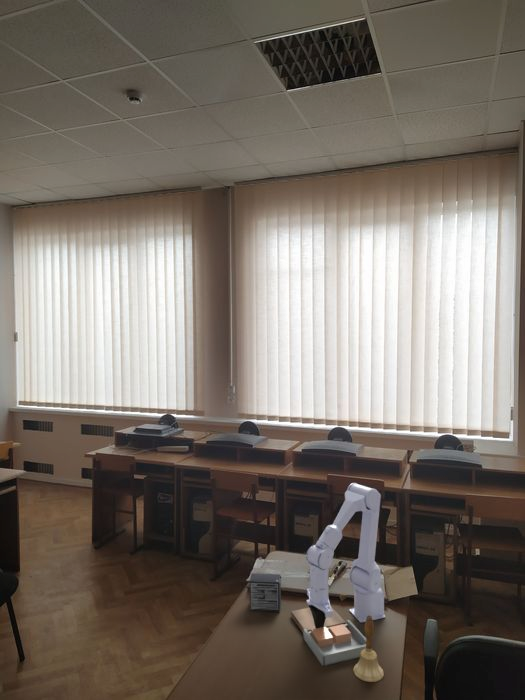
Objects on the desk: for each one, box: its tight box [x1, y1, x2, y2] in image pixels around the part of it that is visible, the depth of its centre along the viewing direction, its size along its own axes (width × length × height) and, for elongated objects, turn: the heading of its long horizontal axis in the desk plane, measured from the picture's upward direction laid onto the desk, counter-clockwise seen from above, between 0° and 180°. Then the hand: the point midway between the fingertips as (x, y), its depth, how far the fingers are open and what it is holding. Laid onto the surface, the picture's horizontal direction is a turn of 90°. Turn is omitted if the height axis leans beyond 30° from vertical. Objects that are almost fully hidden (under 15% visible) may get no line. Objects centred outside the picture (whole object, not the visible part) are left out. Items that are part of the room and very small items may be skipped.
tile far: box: [311, 627, 333, 648], centre depth 155 cm, size 5×5×2 cm
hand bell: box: [353, 616, 384, 683], centre depth 142 cm, size 8×8×16 cm
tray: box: [302, 619, 366, 667], centre depth 154 cm, size 16×14×3 cm
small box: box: [249, 573, 282, 613], centre depth 177 cm, size 11×6×10 cm, turn 84°
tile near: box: [329, 624, 351, 644], centre depth 158 cm, size 5×5×2 cm
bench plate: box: [290, 604, 347, 634], centre depth 167 cm, size 14×12×2 cm
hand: (319, 628), depth 159 cm, fingers closed
